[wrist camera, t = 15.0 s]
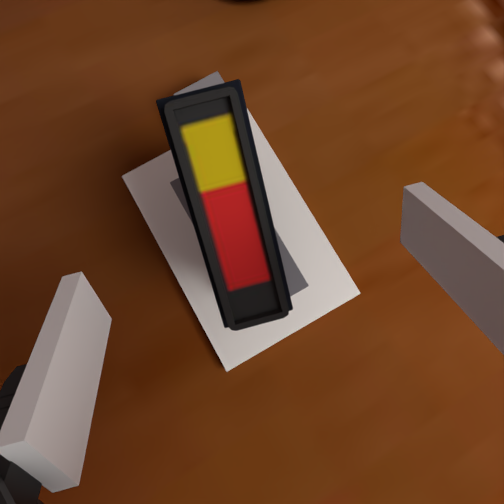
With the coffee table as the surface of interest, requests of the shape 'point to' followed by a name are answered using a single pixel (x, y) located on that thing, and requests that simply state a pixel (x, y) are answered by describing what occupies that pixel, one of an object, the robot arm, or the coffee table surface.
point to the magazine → (227, 202)
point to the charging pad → (288, 236)
